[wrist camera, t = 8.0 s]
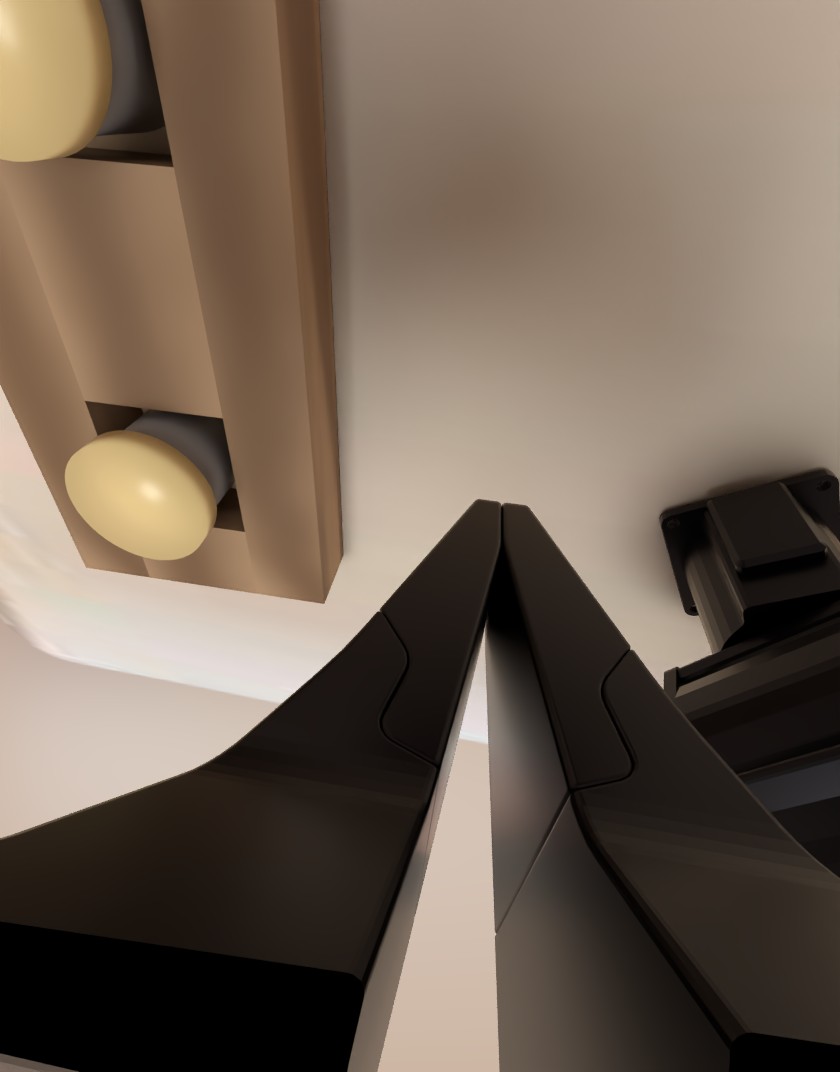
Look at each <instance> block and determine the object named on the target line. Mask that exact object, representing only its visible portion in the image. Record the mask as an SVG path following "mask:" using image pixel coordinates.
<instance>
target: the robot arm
mask: <svg viewBox="0 0 840 1072" xmlns="http://www.w3.org/2000/svg"><path fill="white" fill-rule="evenodd" d="M825 480H826V482H825V483H824V484H822V485H819V486H817V484H818V483H819V482H821V481H825ZM675 519H676V520H677V521H676V522H674V523H668V522H669V521H671V520H675ZM660 525H661V529H662V532H663V536H664V539H665V543H666V547H667V550H668V554H669V557H670V561H671V565H672V568H673V572H674V575H675V579H676V583H677V586H678V590H679V593H680V597H681V600H682V604H683V607H684V610H685V612H686V613H687V614H688V615H691V616H698V615H699V616H700V619H701V622H702V625H703V627H704V630H705V633H706V636H707V639H708V642H709V644H710V647H711V650H712V653H713V654H712V655H709V656H707V657H705V658H702V659H700V660H698V661H695V662H693V663H691V664H689V665H686V666H684V667H682V668H678V667H675V668H673V669H671V670H668V671H666V672H664V690H663V689H662V687H661V686H660V685H659V684H658V682H657V681H656V680H655V678H654V677H653V676H652V674H651V673H650V672H649V671H648V669H647V668H646V667H645V665H644V664H643V662H642V661H641V660H640V658H639V657H638V656H637V654H636V653H635V651H633V650H630V645H629V644H628V642H627V641H626V640H625V638H624V637H623V635H622V634H621V633H620V631H619V630H618V629H617V627H616V626H615V624H614V623H613V622H612V620H611V619H610V618H609V616H608V615H607V614H606V612H605V611H604V609H603V608H602V607H601V605H600V604H599V603H598V601H597V600H596V598H595V597H594V596H593V594H592V593H591V592H590V590H589V589H588V588H587V586H586V585H585V583H584V582H583V581H582V579H581V578H580V577H579V575H578V574H577V572H576V571H575V570H574V568H573V567H572V566H571V564H570V563H569V562H568V560H567V559H566V557H565V556H564V555H563V553H562V552H561V551H560V549H559V548H558V546H557V545H556V544H555V542H554V541H553V540H552V538H551V537H550V536H549V534H548V533H547V531H546V530H545V529H544V527H543V526H542V525H541V523H540V522H539V520H538V519H537V518H536V516H535V515H534V514H533V512H532V511H531V510H530V508H529V507H528V506H526V505H519V504H512V503H504V504H503V505H502V506H501V504H500V503H499V502H497V501H489V500H482V499H478V500H476V501H475V502H474V503H473V504H472V505H471V506H470V507H469V508H468V509H467V511H466V512H465V513H464V514H463V515H462V516H461V517H460V519H459V520H458V521H457V522H456V523H455V524H454V525H453V526H452V528H451V529H450V530H449V531H448V532H447V533H446V534H445V536H444V537H443V538H442V539H441V540H440V541H439V542H438V544H437V545H436V546H435V547H434V548H433V549H432V550H431V552H430V553H429V554H428V555H427V556H426V557H425V558H424V559H423V561H422V562H421V563H420V564H419V565H418V566H417V567H416V569H415V570H414V571H413V572H412V573H411V574H410V575H409V577H408V578H407V579H406V580H405V581H404V582H403V583H402V584H401V586H400V587H399V588H398V589H397V590H396V591H395V592H394V594H393V595H392V596H391V597H390V598H389V599H388V600H387V602H386V603H385V604H384V605H383V606H382V607H381V608H380V612H377V613H376V614H375V615H374V616H373V617H372V618H371V619H370V621H369V622H368V623H367V624H366V625H365V626H364V627H363V628H362V630H361V631H360V632H359V633H358V634H357V635H356V636H355V637H354V638H353V639H352V640H351V641H350V642H349V643H348V644H347V645H346V646H345V647H344V648H343V650H342V651H340V652H339V653H338V654H337V655H336V656H335V657H334V658H333V659H332V660H331V661H330V662H328V663H327V664H326V665H325V666H324V667H323V668H322V669H321V670H320V671H319V672H318V673H316V674H315V675H314V676H313V677H312V678H311V679H310V680H308V681H307V682H306V683H305V684H304V685H303V686H301V687H300V688H299V689H298V690H297V691H296V692H295V693H293V694H292V695H291V696H290V697H289V698H288V699H286V700H285V701H284V702H283V703H282V704H281V705H280V706H278V707H277V708H276V709H275V710H274V711H273V712H272V713H270V714H269V715H268V716H267V717H266V718H265V719H263V720H262V721H261V722H260V723H259V724H258V725H256V726H255V727H254V728H253V729H252V730H251V731H249V732H248V733H247V734H246V735H245V736H244V737H242V738H241V739H240V740H239V741H238V742H237V743H235V744H234V745H233V746H231V747H230V748H228V749H227V750H226V751H224V752H223V753H221V754H220V755H218V756H216V757H215V758H213V759H212V760H210V761H208V762H206V763H205V764H203V765H201V766H199V767H197V768H195V769H193V770H191V771H188V772H185V773H183V774H180V775H177V776H174V777H172V778H169V779H166V780H163V781H160V782H158V783H155V784H152V785H149V786H146V787H144V788H141V789H138V790H136V791H133V792H130V793H127V794H124V795H121V796H119V797H116V798H113V799H110V800H108V801H105V802H102V803H99V804H97V805H94V806H91V807H88V808H86V809H83V810H80V811H77V812H74V813H71V814H69V815H66V816H63V817H61V818H58V819H55V820H52V821H49V822H46V823H44V824H41V825H38V826H35V827H33V828H30V829H27V830H24V831H21V832H19V833H16V834H13V835H10V836H7V837H3V838H0V1072H377V1069H378V1066H379V1062H380V1058H381V1054H382V1049H383V1045H384V1041H385V1037H386V1033H387V1029H388V1025H389V1020H390V1017H391V1012H392V1008H393V1004H394V1000H395V996H396V992H397V988H398V984H399V980H400V976H401V972H402V967H403V963H404V959H405V955H406V951H407V946H408V943H409V939H410V934H411V930H412V926H413V922H414V916H415V914H416V910H417V906H418V901H419V897H420V893H421V889H422V885H423V881H424V877H425V873H426V869H427V864H428V860H429V856H430V852H431V848H432V844H433V840H434V835H435V831H436V828H437V823H438V819H439V815H440V811H441V807H442V803H443V799H444V795H445V790H446V787H447V782H448V778H449V774H450V770H451V766H452V762H453V758H454V753H455V749H456V745H457V741H458V737H459V733H460V729H461V725H462V721H463V717H464V713H465V708H466V704H467V700H468V696H469V692H470V688H471V684H472V680H473V676H474V671H475V667H476V663H477V659H478V655H479V651H480V647H481V643H482V638H483V633H484V628H485V655H486V684H487V713H488V743H489V769H490V770H489V772H490V801H491V829H492V859H493V888H494V918H495V932H496V936H495V950H496V978H497V1008H498V1037H499V1064H500V1072H840V500H839V481H838V479H837V477H836V476H835V475H834V474H833V473H832V472H831V471H829V470H818V471H814V472H810V473H807V474H803V475H799V476H795V477H791V478H788V479H784V480H780V481H776V482H773V483H769V484H765V485H761V486H758V487H754V488H750V489H746V490H743V491H739V492H735V493H731V494H728V495H724V496H720V497H716V498H712V499H709V500H705V501H701V502H697V503H694V504H690V505H686V506H682V507H679V508H675V509H671V510H668V511H666V512H664V513H663V514H662V515H661V517H660ZM694 605H696V606H694ZM485 623H486V625H485Z"/></svg>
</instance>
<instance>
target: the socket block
mask: <svg viewBox="0 0 840 1072" xmlns="http://www.w3.org/2000/svg"><path fill="white" fill-rule="evenodd" d="M141 2H142V7H143V13H144V18H145V23H146V28H147V33H148V38H149V43H150V48H151V53H152V59H153V64H154V69H155V74H156V79H157V84H158V89H159V94H160V100H161V105H162V110H163V115H164V120H165V126H163V127H162V128H160V129H157V130H155V131H152V132H146V133H134V134H119V135H104V136H95V137H94V138H93V139H92V141H91V142H90V143H89V144H88V145H87V146H86V147H84V148H83V149H81V150H80V151H78V152H77V153H74V154H72V155H69V156H67V157H62V158H57V159H48V160H39V161H30V162H13V161H8V160H2V159H0V385H1V387H2V389H3V391H4V393H5V396H6V398H7V400H8V402H9V404H10V406H11V408H12V411H13V413H14V415H15V417H16V419H17V421H18V423H19V425H20V428H21V430H22V432H23V434H24V436H25V438H26V440H27V443H28V445H29V447H30V449H31V451H32V453H33V455H34V458H35V460H36V462H37V464H38V466H39V468H40V470H41V472H42V475H43V477H44V479H45V481H46V483H47V485H48V487H49V490H50V492H51V494H52V496H53V498H54V500H55V502H56V504H57V507H58V509H59V511H60V513H61V515H62V517H63V519H64V522H65V524H66V526H67V528H68V530H69V532H70V534H71V536H72V539H73V541H74V543H75V545H76V547H77V549H78V551H79V554H80V556H81V558H82V560H83V562H84V564H85V566H86V568H93V569H99V570H106V571H112V572H119V573H125V574H132V575H139V576H145V577H152V578H158V579H165V580H171V581H178V582H185V583H191V584H198V585H204V586H211V587H217V588H224V589H230V590H237V591H244V592H250V593H257V594H263V595H270V596H276V597H283V598H290V599H296V600H303V601H309V602H316V603H322V604H324V603H325V600H326V598H327V595H328V593H329V590H330V588H331V585H332V583H333V580H334V577H335V575H336V572H337V570H338V567H339V565H340V562H341V560H342V557H343V541H342V518H341V495H340V473H339V450H338V427H337V404H336V382H335V359H334V336H333V313H332V291H331V268H330V245H329V222H328V200H327V177H326V154H325V131H324V109H323V86H322V63H321V40H320V18H319V0H141ZM149 409H153V410H161V411H169V412H177V413H185V414H193V415H200V416H208V417H216V418H223V422H224V427H225V432H226V438H227V443H228V448H229V453H230V458H231V463H232V468H233V473H234V479H235V482H234V483H233V485H232V486H231V487H230V489H229V490H228V491H227V493H226V494H225V495H224V497H223V498H222V499H221V500H220V502H219V503H218V504H217V517H216V521H215V524H214V526H213V528H212V529H211V531H210V532H209V534H208V535H207V537H206V538H205V539H204V541H203V542H202V543H201V545H200V546H199V547H198V548H197V549H196V550H195V551H194V552H193V553H192V554H190V555H188V556H186V557H184V558H180V559H175V560H155V559H150V558H145V557H142V556H138V555H135V554H133V553H130V552H128V551H126V550H124V549H121V548H120V547H118V546H116V545H114V544H112V543H111V542H109V541H108V540H106V539H105V538H104V537H102V536H101V535H100V534H98V533H97V532H96V531H95V530H94V529H93V528H92V527H91V526H90V525H89V524H88V523H87V522H86V521H85V520H84V519H83V518H82V516H81V515H80V514H79V513H78V511H77V510H76V508H75V507H74V505H73V503H72V501H71V499H70V497H69V495H68V492H67V489H66V484H65V470H66V466H67V463H68V462H69V460H70V458H71V457H72V456H73V455H74V454H75V453H76V452H77V451H79V450H80V449H81V448H82V447H84V446H85V445H86V444H88V443H89V442H90V441H91V440H93V439H94V438H96V437H97V436H99V435H101V434H103V433H106V432H110V431H118V430H125V429H126V428H127V427H129V426H130V425H131V424H132V423H133V422H135V421H136V420H137V419H138V418H140V417H141V416H142V415H143V414H144V413H146V412H147V411H148V410H149Z"/></svg>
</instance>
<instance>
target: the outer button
mask: <svg viewBox="0 0 840 1072" xmlns="http://www.w3.org/2000/svg"><path fill="white" fill-rule="evenodd" d="M163 126H165V120H164V115H163V110H162V105H161V100H160V94H159V89H158V84H157V79H156V74H155V69H154V64H153V59H152V53H151V48H150V43H149V38H148V33H147V28H146V23H145V18H144V13H143V7H142V2H141V0H0V159H2V160H8V161H13V162H30V161H39V160H48V159H57V158H62V157H67V156H69V155H72V154H74V153H77V152H78V151H80V150H81V149H83V148H84V147H86V146H87V145H88V144H89V143H90V142H91V141H92V139H93V138H94V137H95V136H104V135H119V134H134V133H146V132H152V131H155V130H157V129H160V128H162V127H163Z"/></svg>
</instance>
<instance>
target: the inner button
mask: <svg viewBox="0 0 840 1072" xmlns="http://www.w3.org/2000/svg"><path fill="white" fill-rule="evenodd" d="M234 482H235V479H234V473H233V468H232V463H231V458H230V453H229V448H228V443H227V438H226V432H225V427H224V422H223V418H216V417H208V416H200V415H193V414H185V413H177V412H169V411H161V410H153V409H149V410H148V411H147V412H146V413H144V414H143V415H142V416H141V417H140V418H138V419H137V420H136V421H135V422H133V423H132V424H131V425H130V426H129V427H127V428H126V429H125V430H118V431H110V432H106V433H103V434H101V435H99V436H97V437H96V438H94V439H93V440H91V441H90V442H89V443H88V444H86V445H85V446H84V447H82V448H81V449H80V450H79V451H77V452H76V453H75V454H74V455H73V456H72V457H71V458H70V460H69V462H68V463H67V466H66V470H65V484H66V489H67V492H68V495H69V497H70V499H71V501H72V503H73V505H74V507H75V508H76V510H77V511H78V513H79V514H80V515H81V516H82V518H83V519H84V520H85V521H86V522H87V523H88V524H89V525H90V526H91V527H92V528H93V529H94V530H95V531H96V532H97V533H98V534H100V535H101V536H102V537H104V538H105V539H106V540H108V541H109V542H111V543H112V544H114V545H116V546H118V547H120V548H121V549H124V550H126V551H128V552H130V553H133V554H135V555H138V556H142V557H145V558H150V559H155V560H175V559H180V558H184V557H186V556H188V555H190V554H192V553H193V552H194V551H195V550H196V549H197V548H198V547H199V546H200V545H201V543H202V542H203V541H204V539H205V538H206V537H207V535H208V534H209V532H210V531H211V529H212V528H213V526H214V524H215V521H216V517H217V504H218V503H219V502H220V500H221V499H222V498H223V497H224V495H225V494H226V493H227V491H228V490H229V489H230V487H231V486H232V485H233V483H234Z"/></svg>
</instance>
